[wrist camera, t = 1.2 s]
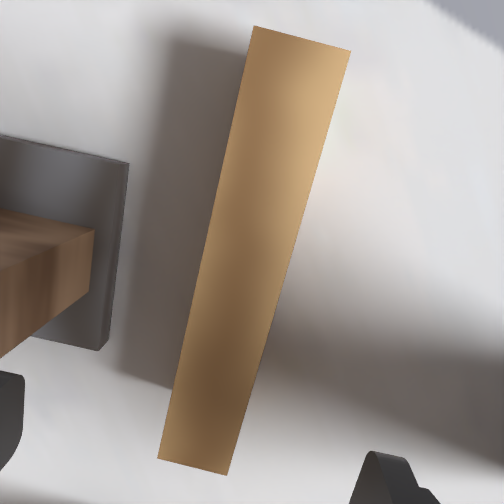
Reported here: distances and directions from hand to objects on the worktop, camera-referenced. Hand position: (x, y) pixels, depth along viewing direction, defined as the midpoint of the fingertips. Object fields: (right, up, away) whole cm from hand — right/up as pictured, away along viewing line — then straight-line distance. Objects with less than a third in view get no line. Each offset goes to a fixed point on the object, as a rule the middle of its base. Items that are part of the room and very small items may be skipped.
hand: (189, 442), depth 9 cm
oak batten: (+1, +4, +15) cm, 16 cm away
